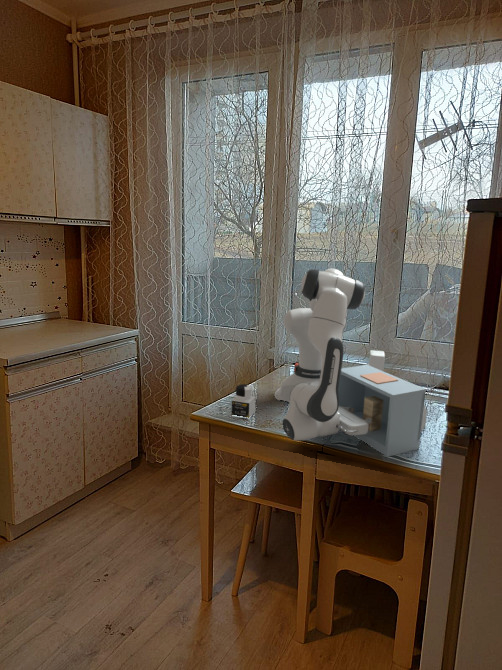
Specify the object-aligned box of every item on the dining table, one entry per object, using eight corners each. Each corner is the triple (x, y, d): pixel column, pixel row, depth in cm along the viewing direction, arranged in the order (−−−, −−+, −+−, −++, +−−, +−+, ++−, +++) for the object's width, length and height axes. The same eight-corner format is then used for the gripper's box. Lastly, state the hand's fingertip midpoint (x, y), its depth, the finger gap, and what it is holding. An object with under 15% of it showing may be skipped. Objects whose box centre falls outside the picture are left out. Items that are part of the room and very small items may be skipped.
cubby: (387, 456, 154) (393, 394, 149) (333, 422, 179) (337, 368, 174) (419, 448, 160) (426, 388, 155) (362, 416, 185) (367, 363, 180)
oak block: (370, 431, 165) (373, 401, 163) (362, 426, 169) (364, 397, 167) (380, 429, 167) (383, 400, 165) (372, 424, 171) (374, 395, 169)
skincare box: (367, 381, 227) (369, 349, 223) (381, 382, 226) (384, 350, 222) (367, 387, 219) (370, 354, 215) (382, 388, 218) (385, 355, 214)
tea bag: (425, 426, 178) (428, 401, 176) (420, 432, 173) (423, 406, 170) (415, 423, 180) (417, 398, 178) (410, 429, 175) (413, 404, 172)
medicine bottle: (231, 417, 182) (231, 387, 179) (238, 410, 189) (238, 381, 186) (248, 420, 180) (249, 390, 177) (255, 413, 186) (255, 384, 183)
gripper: (348, 424, 149) (382, 417, 155) (312, 401, 167) (344, 396, 173) (346, 443, 150) (380, 435, 157) (311, 418, 168) (342, 412, 174)
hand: (361, 414), depth 165 cm, fingers open, 8 cm apart
